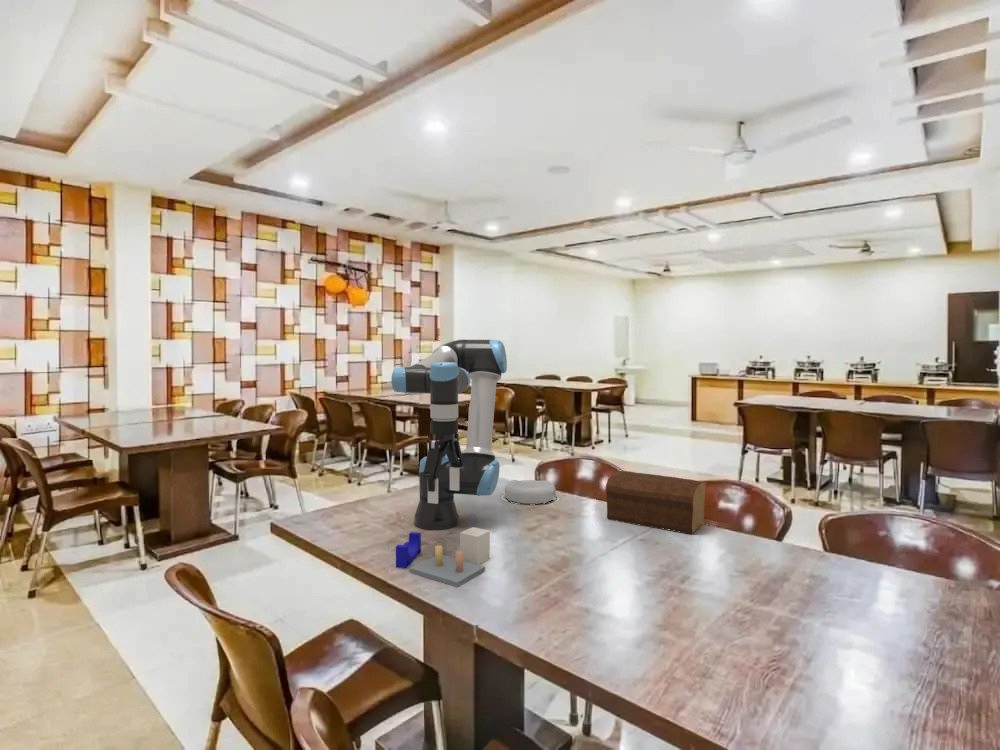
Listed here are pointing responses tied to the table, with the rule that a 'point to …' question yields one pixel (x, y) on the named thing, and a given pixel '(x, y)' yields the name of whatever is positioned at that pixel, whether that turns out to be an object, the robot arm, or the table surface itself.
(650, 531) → the table surface
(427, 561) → the board
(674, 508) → the bread
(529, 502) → the round ceiling alarm
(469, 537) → the cream rectangular block
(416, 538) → the blue arched piece
